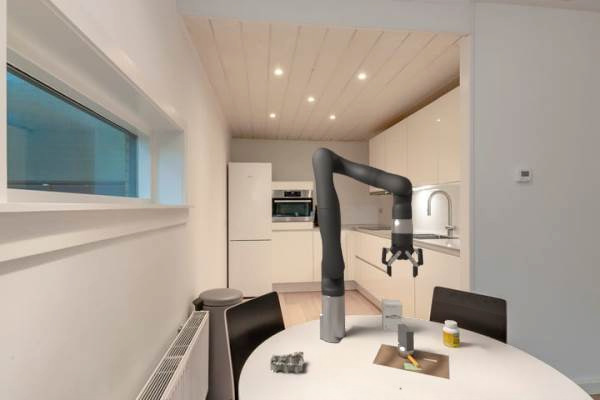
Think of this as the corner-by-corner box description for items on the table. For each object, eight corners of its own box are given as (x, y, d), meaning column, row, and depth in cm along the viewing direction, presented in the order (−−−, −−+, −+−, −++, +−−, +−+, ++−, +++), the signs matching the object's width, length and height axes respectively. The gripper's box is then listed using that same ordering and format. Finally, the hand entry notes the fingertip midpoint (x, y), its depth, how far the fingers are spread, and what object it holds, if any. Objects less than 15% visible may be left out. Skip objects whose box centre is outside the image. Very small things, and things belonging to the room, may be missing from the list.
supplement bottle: (448, 344, 115) (448, 318, 115) (462, 349, 110) (462, 322, 111) (440, 347, 112) (439, 321, 112) (454, 353, 107) (453, 325, 108)
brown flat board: (372, 368, 97) (372, 363, 98) (381, 348, 112) (381, 343, 112) (449, 384, 88) (449, 378, 88) (448, 360, 102) (448, 355, 103)
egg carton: (305, 363, 101) (305, 351, 101) (302, 375, 94) (302, 362, 94) (273, 361, 103) (273, 349, 103) (268, 373, 95) (268, 359, 95)
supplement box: (384, 335, 124) (383, 303, 124) (381, 328, 131) (381, 298, 132) (403, 336, 123) (402, 304, 123) (399, 329, 130) (399, 299, 131)
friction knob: (394, 350, 106) (394, 324, 106) (408, 350, 106) (407, 323, 107) (409, 368, 94) (409, 338, 94) (425, 367, 94) (424, 337, 95)
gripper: (419, 231, 114) (419, 275, 114) (380, 230, 116) (380, 274, 115) (425, 232, 107) (425, 279, 106) (383, 232, 109) (383, 278, 108)
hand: (402, 276), depth 111 cm, fingers open, 8 cm apart
